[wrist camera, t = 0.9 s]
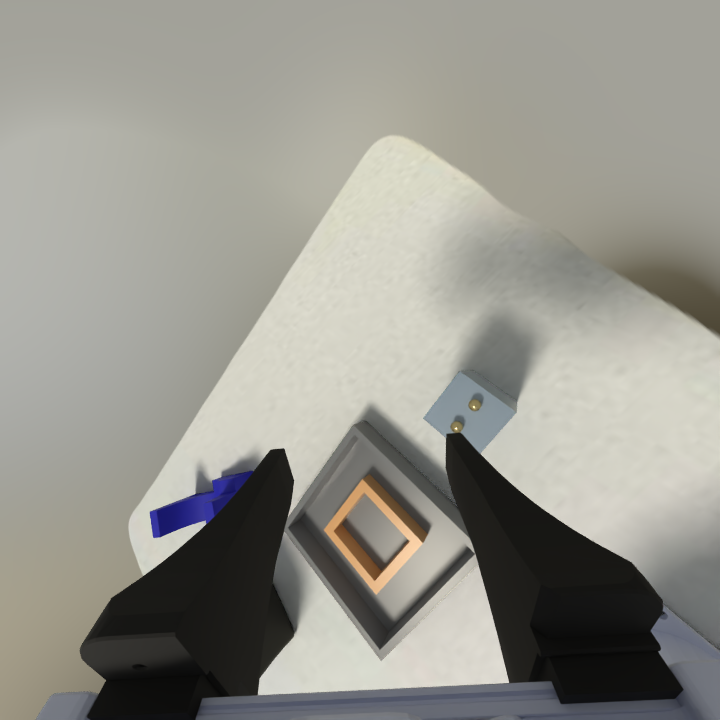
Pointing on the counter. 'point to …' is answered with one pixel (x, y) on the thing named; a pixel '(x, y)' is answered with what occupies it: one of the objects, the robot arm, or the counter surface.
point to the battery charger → (275, 631)
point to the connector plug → (472, 409)
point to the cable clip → (196, 506)
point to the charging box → (380, 538)
